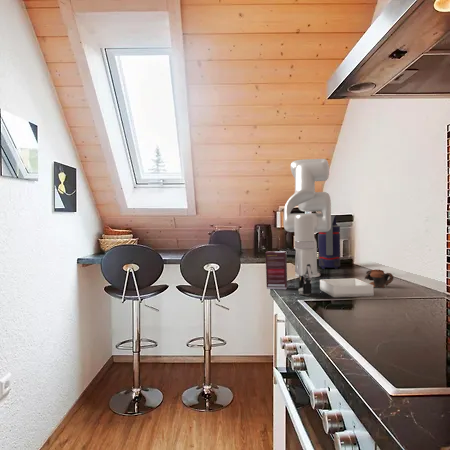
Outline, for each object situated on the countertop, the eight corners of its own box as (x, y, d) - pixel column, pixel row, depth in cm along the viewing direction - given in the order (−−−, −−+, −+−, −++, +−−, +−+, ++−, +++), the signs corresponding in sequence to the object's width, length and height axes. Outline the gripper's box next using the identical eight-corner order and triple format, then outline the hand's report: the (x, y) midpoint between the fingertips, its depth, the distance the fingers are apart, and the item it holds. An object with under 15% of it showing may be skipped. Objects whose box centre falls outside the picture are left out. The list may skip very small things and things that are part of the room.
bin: (320, 289, 157) (319, 279, 157) (356, 287, 158) (355, 278, 158) (333, 297, 141) (333, 286, 141) (373, 295, 143) (373, 285, 142)
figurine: (295, 293, 148) (297, 279, 147) (303, 292, 150) (305, 278, 149) (304, 298, 143) (306, 283, 143) (313, 297, 146) (315, 282, 145)
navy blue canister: (319, 266, 223) (318, 215, 222) (339, 266, 220) (339, 215, 219) (318, 269, 210) (317, 216, 209) (341, 270, 207) (340, 215, 206)
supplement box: (287, 287, 162) (286, 250, 161) (286, 289, 157) (285, 252, 157) (267, 286, 164) (267, 250, 164) (265, 289, 160) (265, 252, 159)
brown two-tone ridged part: (362, 288, 159) (360, 270, 163) (371, 294, 165) (368, 277, 169) (391, 283, 152) (389, 265, 156) (399, 290, 158) (396, 272, 162)
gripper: (289, 244, 154) (290, 288, 154) (301, 248, 137) (301, 297, 138) (307, 243, 155) (308, 287, 155) (321, 247, 138) (321, 296, 138)
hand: (305, 291), depth 146 cm, fingers closed on figurine, 4 cm apart
